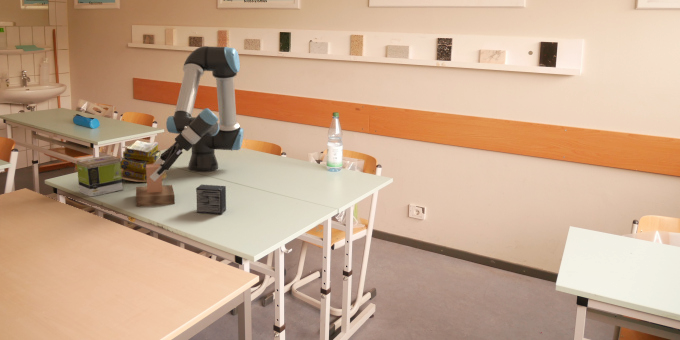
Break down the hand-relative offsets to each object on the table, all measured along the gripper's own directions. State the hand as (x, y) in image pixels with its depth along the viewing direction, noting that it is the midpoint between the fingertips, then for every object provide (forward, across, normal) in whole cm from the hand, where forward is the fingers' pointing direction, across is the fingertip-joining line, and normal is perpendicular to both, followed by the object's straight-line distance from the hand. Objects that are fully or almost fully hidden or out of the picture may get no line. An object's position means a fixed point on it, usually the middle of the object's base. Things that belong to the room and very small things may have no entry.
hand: (151, 174), depth 227 cm
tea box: (+23, -17, -7) cm, 29 cm away
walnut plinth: (+7, 0, +8) cm, 11 cm away
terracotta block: (+4, 0, +6) cm, 7 cm away
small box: (-8, +21, +24) cm, 32 cm away
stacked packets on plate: (+12, -39, +5) cm, 41 cm away
